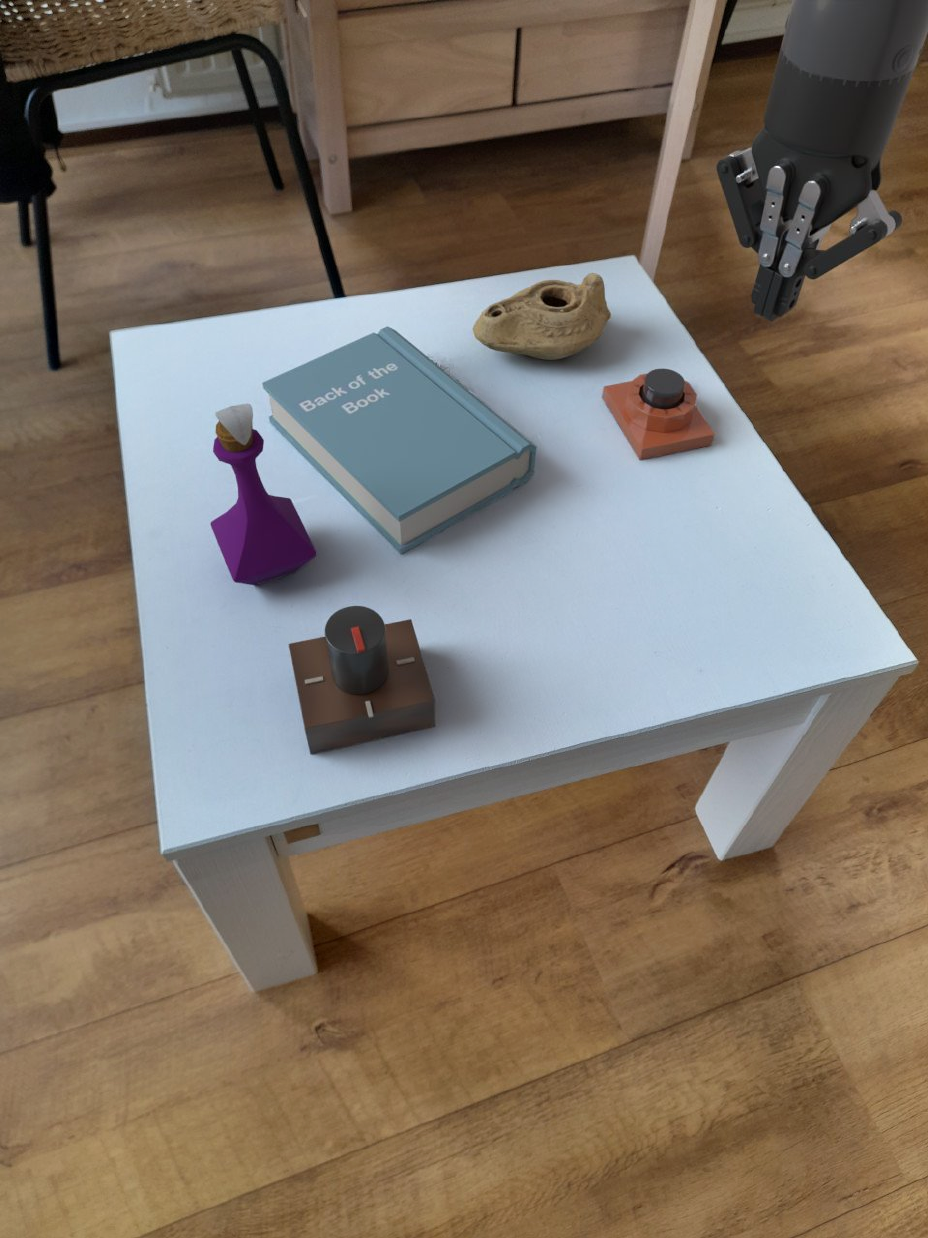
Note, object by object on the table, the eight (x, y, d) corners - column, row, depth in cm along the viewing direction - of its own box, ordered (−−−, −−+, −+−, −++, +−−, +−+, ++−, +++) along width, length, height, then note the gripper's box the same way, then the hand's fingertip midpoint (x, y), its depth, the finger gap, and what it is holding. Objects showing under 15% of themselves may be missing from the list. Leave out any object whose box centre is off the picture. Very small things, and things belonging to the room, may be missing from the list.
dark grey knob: (687, 406, 93) (692, 389, 91) (651, 413, 92) (654, 397, 90) (670, 381, 95) (674, 365, 94) (635, 388, 94) (638, 371, 93)
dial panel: (411, 644, 78) (410, 614, 75) (436, 729, 73) (436, 702, 70) (294, 668, 77) (287, 639, 73) (311, 758, 72) (304, 731, 68)
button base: (711, 445, 94) (720, 418, 91) (639, 460, 92) (645, 433, 90) (670, 384, 100) (676, 357, 97) (601, 397, 98) (606, 370, 95)
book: (269, 421, 95) (262, 382, 91) (396, 362, 101) (394, 322, 97) (400, 554, 84) (398, 516, 80) (533, 478, 91) (537, 439, 87)
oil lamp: (456, 341, 103) (457, 277, 97) (566, 302, 108) (574, 239, 102) (509, 397, 98) (513, 333, 91) (622, 353, 103) (634, 289, 96)
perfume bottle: (216, 546, 85) (170, 389, 70) (294, 522, 87) (265, 364, 72) (240, 605, 81) (196, 451, 66) (321, 578, 83) (296, 423, 68)
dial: (326, 655, 73) (318, 610, 68) (380, 642, 74) (376, 597, 69) (338, 700, 70) (331, 657, 66) (394, 687, 71) (391, 643, 66)
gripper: (991, 64, 51) (878, 332, 65) (790, -3, 57) (726, 256, 71) (921, 105, 48) (818, 378, 62) (716, 30, 54) (663, 294, 68)
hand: (769, 312), depth 66 cm, fingers closed
